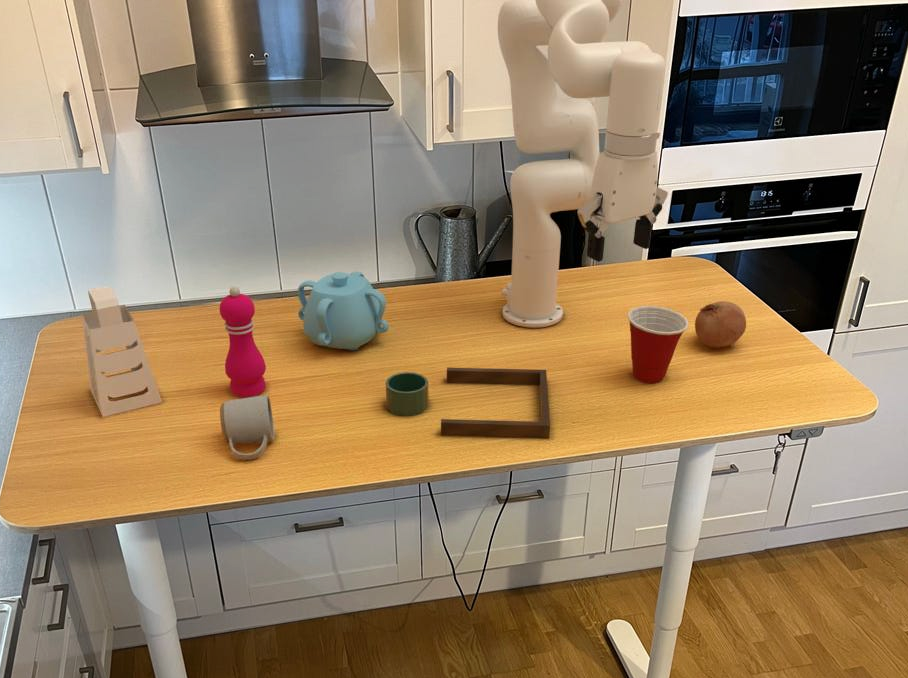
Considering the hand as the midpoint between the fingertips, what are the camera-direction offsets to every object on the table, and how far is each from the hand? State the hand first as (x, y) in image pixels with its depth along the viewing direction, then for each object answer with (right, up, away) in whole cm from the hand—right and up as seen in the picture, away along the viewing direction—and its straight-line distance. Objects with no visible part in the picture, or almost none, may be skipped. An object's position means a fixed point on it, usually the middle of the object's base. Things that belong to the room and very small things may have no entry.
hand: (618, 252), depth 148 cm
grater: (-85, -22, +20) cm, 90 cm away
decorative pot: (-47, -8, +38) cm, 61 cm away
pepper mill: (-64, -20, +22) cm, 70 cm away
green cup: (-34, -23, +16) cm, 44 cm away
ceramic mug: (-60, -31, +6) cm, 68 cm away
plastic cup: (+11, -17, +24) cm, 31 cm away
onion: (+26, -10, +34) cm, 44 cm away
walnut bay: (-19, -24, +15) cm, 34 cm away
